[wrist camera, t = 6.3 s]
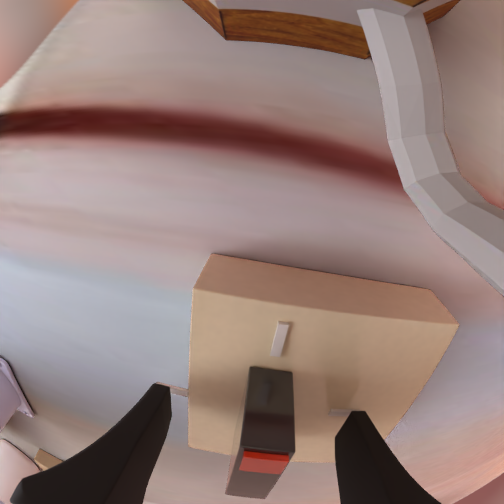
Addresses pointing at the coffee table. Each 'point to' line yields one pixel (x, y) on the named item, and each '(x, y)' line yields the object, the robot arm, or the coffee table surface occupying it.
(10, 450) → the wine bottle
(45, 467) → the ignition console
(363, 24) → the mug
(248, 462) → the dark upright block
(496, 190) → the coffee table surface
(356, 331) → the tan slotted base
